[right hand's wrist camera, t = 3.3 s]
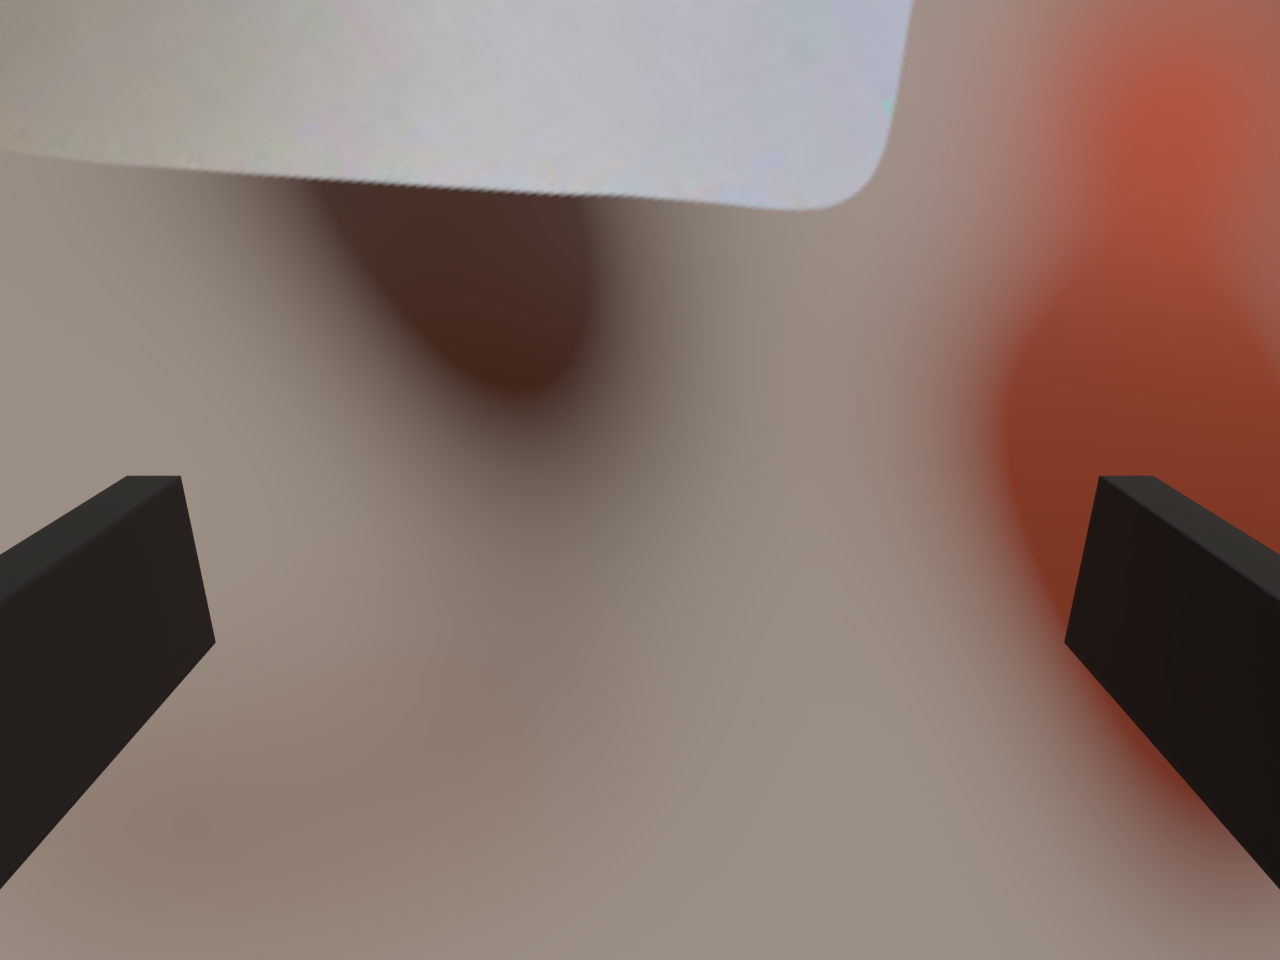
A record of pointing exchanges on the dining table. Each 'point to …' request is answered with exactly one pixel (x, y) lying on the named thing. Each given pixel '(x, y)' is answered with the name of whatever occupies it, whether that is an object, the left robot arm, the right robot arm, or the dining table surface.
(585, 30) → the dining table surface
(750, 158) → the dining table surface
